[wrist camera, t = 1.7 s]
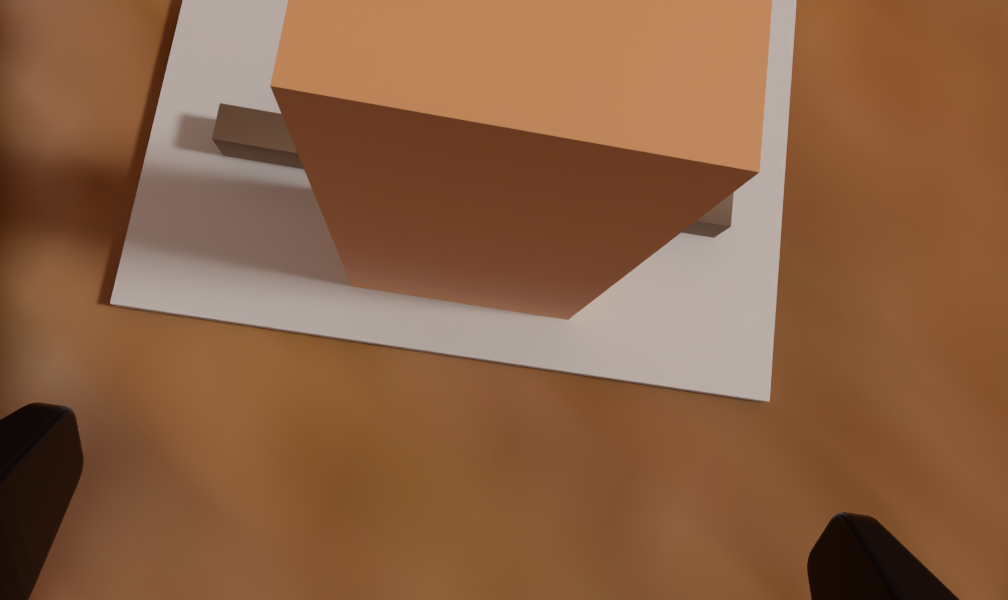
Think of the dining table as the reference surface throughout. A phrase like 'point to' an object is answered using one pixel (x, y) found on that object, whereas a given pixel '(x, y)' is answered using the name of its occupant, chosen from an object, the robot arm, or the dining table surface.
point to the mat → (417, 320)
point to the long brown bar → (272, 143)
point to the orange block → (519, 136)
